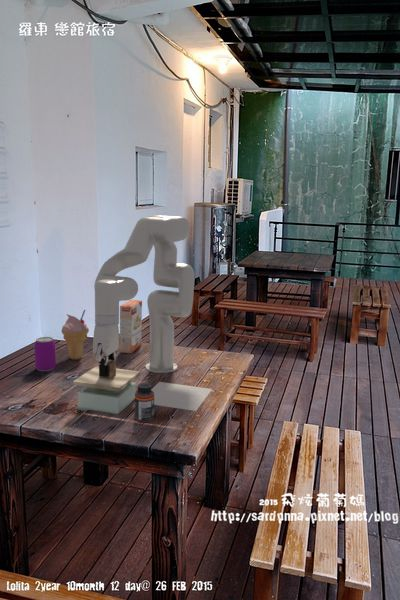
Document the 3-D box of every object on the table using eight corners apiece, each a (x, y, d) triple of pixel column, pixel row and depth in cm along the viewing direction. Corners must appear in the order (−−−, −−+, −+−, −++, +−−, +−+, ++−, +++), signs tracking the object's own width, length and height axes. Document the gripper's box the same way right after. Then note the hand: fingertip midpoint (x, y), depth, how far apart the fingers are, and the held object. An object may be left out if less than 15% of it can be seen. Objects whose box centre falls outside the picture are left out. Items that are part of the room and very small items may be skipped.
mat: (159, 383, 192) (159, 381, 192) (212, 390, 187) (212, 389, 187) (138, 403, 174) (138, 402, 173) (195, 412, 168) (195, 410, 168)
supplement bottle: (135, 415, 165) (135, 381, 162) (154, 415, 165) (154, 381, 163) (134, 424, 159) (134, 388, 156) (154, 423, 159) (154, 388, 157)
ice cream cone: (75, 352, 226) (74, 306, 221) (94, 356, 220) (94, 310, 216) (56, 358, 216) (55, 311, 212) (76, 363, 211) (75, 315, 207)
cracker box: (132, 354, 225) (132, 306, 221) (119, 352, 227) (118, 305, 222) (142, 345, 239) (142, 300, 235) (129, 343, 240) (129, 299, 236)
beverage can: (52, 372, 201) (51, 342, 198) (32, 371, 201) (31, 341, 198) (58, 365, 208) (57, 336, 206) (39, 365, 208) (38, 336, 206)
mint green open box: (98, 394, 181) (98, 377, 180) (136, 399, 177) (136, 382, 176) (78, 409, 168) (77, 392, 166) (118, 416, 164) (118, 398, 163)
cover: (96, 369, 180) (96, 351, 179) (140, 374, 176) (140, 357, 174) (73, 384, 165) (72, 366, 164) (119, 391, 161) (119, 372, 159)
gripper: (108, 312, 175) (108, 364, 179) (83, 323, 159) (84, 380, 163) (128, 314, 173) (128, 367, 177) (105, 326, 157) (106, 384, 161)
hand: (107, 373), depth 170 cm, fingers closed on cover, 4 cm apart
